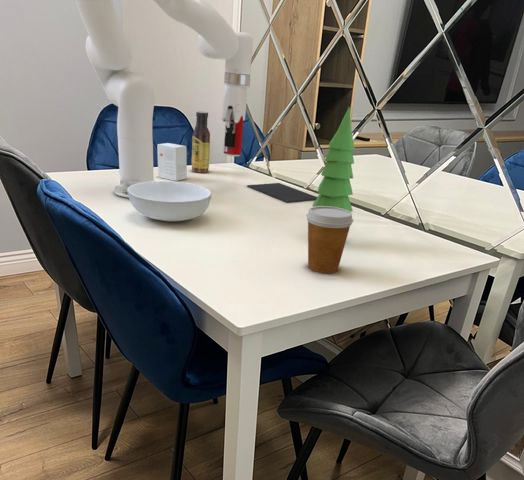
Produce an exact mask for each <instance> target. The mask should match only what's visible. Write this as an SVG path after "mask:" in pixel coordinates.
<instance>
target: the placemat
mask: <svg viewBox="0 0 524 480" xmlns="http://www.w3.org/2000/svg"><path fill="white" fill-rule="evenodd" d="M247 188H250V189H252V190H255V191H257V192H259V193H262V194H264V195H267V196H269V197H272V198H274V199H277V200H279V201H282V202H284V203H286V204H289V203H290V204H291V203H301V202H311V201H315V200H316V199H317V197H318V196H315V195H313V194H310V193H307V192H304V191H303V190H300V189H296V188H294V187H291V186H289V185H286V184H283V183H281V182H272V183H259V184H247Z"/></svg>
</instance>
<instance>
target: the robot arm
mask: <svg viewBox="0 0 524 480" xmlns="http://www.w3.org/2000/svg"><path fill="white" fill-rule="evenodd" d="M153 1H154V2H155V3H156V4H157V6H158V7H160V9H161V10H162V11H163V12H164V13H165V14H166V15H167V16H168V17H170V18H171V19H173V20H174V21H176V22H178V23H181V24H183V25H185V26H187V27H188V28H190V29H191V30H193V31H194V32H196V33H197V34H198V37H197V39H196V46H197V49H198V51H199V52H200V54H201V55H202V56H204V57H205V58H209V59H212V60H224V61H225V62H224V75H223V76H224V78H223V79H224V80H223V85H224V92H223V99H222V106H221V121H222V122H224V135H225V146H226V147H233V148H234V147H235V140H236V134H235V129H236V123H238V122H239V120H240V118H241V115H243V122H244V121H245V120H246V115H247V113H246V112H247V91H248V90H247V88H250V85H251V83H250V82H251V71H252V59H253V58H252V56H253V44H254V43H253V42H254V37H253V35H252V34H251V33H248V32H243V31H235V30H234V28H233V27H232V26H231V25H230V24H229V22H228V21H227V20H226V19H225V18H224V16H222V14H221V13H220V12H219V11H218V10H217V9H216V8H214V7H213V6H212V5H211V4H210V3H208V2H207V1H206V0H153ZM74 2H75V5H76V9H77V11H78V14H79V16H80V19H81V21H82V23H83V26H84V28H85V31H86V32H87V37H86V39H85V51H86V52H85V53H86V55H87V59H88V61H89V63H90V66H91V67H92V69H93V72H94V74H95V76H96V78H97V80H98V82H99V84H100V86H101V87H102V89H103V91H104V94H105V96H106V97H107V98H108V100H109V101H110V102H111V103H112V104H113V105H114V106H116V107H117V108H118V109H117V119H116V131H117V132H116V135H117V148H118V149H117V150H118V166H119V167H118V168H119V184H118V185H115V187H114V193H115V194H116V195H117V196H119V197H121V198H127V199H129V196H128V188H129V187H130V186H132V185H134V184H137V183H142V182H151V181H155V179H154V178H155V177H154V147H153V146H154V139H153V119H154V118H153V117H154V109H155V92H154V88H153V86H152V84H151V82H150V81H149V79H148V78H147V77H145V76H144V75H142V74H140V73H137V72H134V71H132V69H131V68H130V66H129V65H130V64H131V63H132V60H133V49H132V45H131V43H130V40H129V38H128V36H127V34H126V32H125V30H124V27H123V25H122V23H121V20H120V19H119V16H118V13H117V10H116V8H115V6H114V3H113V0H74ZM231 120H234V122H231ZM225 124H226V125H225ZM232 125H233V127H232ZM225 127H226V129H225Z"/></svg>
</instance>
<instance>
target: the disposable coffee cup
mask: <svg viewBox="0 0 524 480" xmlns="http://www.w3.org/2000/svg"><path fill="white" fill-rule="evenodd" d="M305 217H306V221H307V259H308V260H307V268H308V269H309V270H310V271H313V272H316V273H320V274H333V273H337V272H338V271H339V267H340V263H341V259H342V257H343V252H344V249H345V247H346V246H345V245H346V243H347V239H348V236H349V231H350V228H351V226H352V224H353V223H354V219H353V213H352V212H350V211H348V210H345V209H342V208H338V207H331V206H315V207H313V206H311V207H310V208H309V210H308V211H307V214H306V216H305Z"/></svg>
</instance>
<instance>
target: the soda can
mask: <svg viewBox="0 0 524 480" xmlns="http://www.w3.org/2000/svg"><path fill="white" fill-rule="evenodd" d="M231 122H234V120H231ZM225 125H226V124H225V123H224V130H225V129H226V127H225ZM232 127H233V125H232ZM235 134H236V140H235V147H234V148H233V147H226V146H225V134H224V135H223V137H224V139H223V154H224V156H227V157H240V156H241V155H242V147H243V146H242V145H243V134H244V121H243V115H241V118H240V120H239V122H238V123H236V129H235Z"/></svg>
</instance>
